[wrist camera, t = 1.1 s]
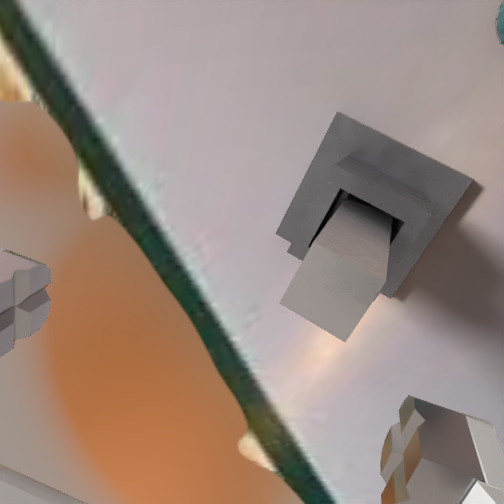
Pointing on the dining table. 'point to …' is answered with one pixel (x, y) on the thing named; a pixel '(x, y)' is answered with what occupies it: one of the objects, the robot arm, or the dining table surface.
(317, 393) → the dining table surface
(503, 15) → the beverage bottle
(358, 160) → the stand
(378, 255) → the column
